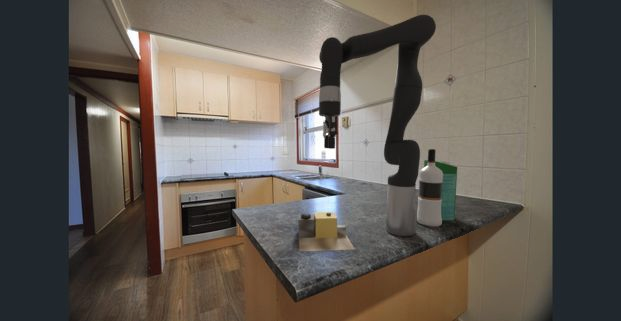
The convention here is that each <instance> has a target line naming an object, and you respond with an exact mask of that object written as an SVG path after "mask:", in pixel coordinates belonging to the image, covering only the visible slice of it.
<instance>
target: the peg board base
mask: <svg viewBox="0 0 621 321" xmlns="http://www.w3.org/2000/svg"><path fill="white" fill-rule="evenodd" d="M297 216H298V217H297V218H298V219H297V224H298V225H297V226H298V227H297V233H298V250H299V252H324V251H325V252H326V251H327V252H328V251H349V250H350V251H351V250H355V251H356V249H355V247H354V245H353V243H352V242H351V241H350V239H349V237H348V236H347V227H346V225H345V224H342V225H341V224H337V238H316V237H315V226H314V213H313V214H311V213H309V212H303V213H301V214H297Z"/></svg>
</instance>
